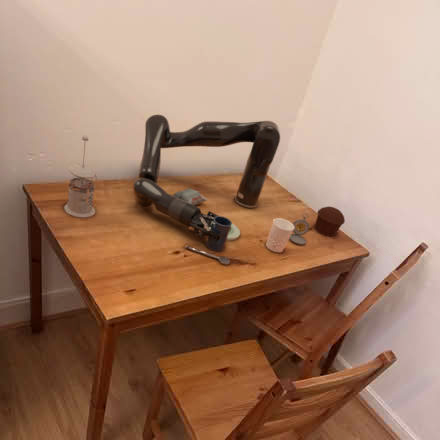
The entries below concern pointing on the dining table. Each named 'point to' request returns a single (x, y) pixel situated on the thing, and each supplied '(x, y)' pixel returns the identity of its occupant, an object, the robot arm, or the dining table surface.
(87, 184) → the french press
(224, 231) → the tumbler
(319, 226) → the muffin
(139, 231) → the dining table surface
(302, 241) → the pocket watch
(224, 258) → the spoon
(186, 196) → the packaged food
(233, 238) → the side plate
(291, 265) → the dining table surface
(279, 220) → the white cup
